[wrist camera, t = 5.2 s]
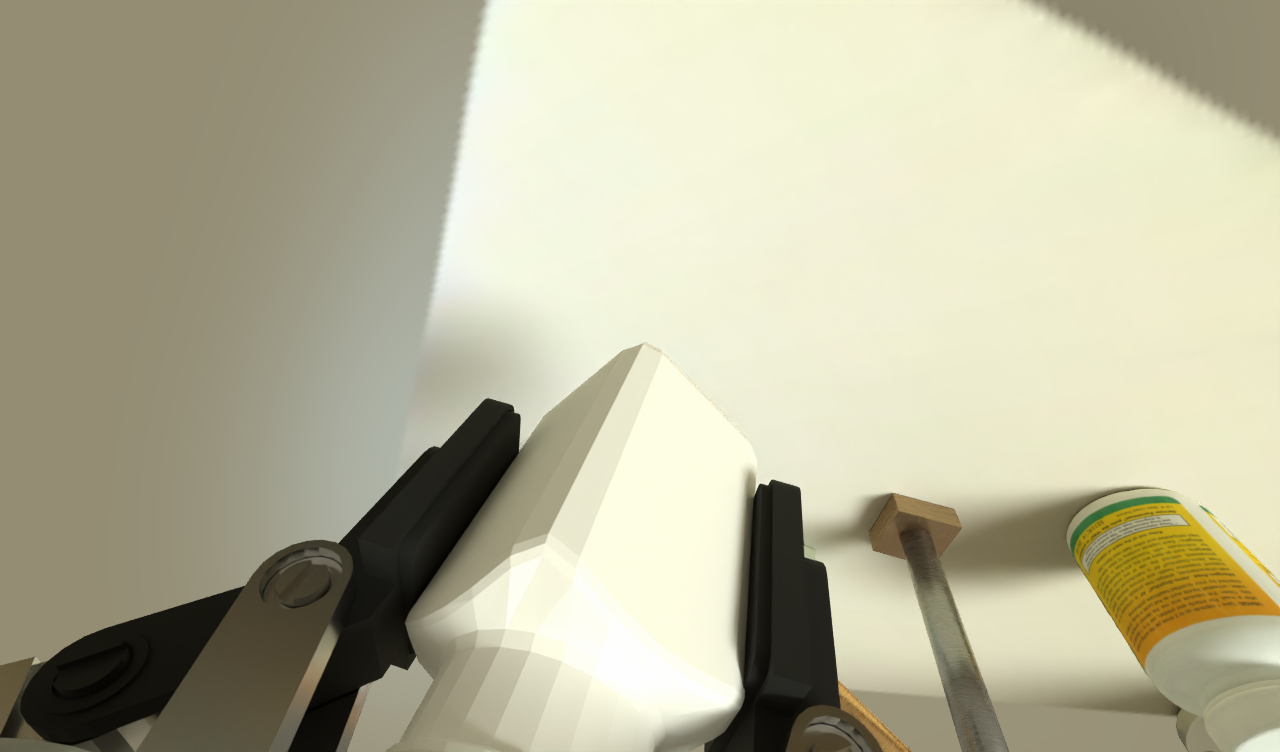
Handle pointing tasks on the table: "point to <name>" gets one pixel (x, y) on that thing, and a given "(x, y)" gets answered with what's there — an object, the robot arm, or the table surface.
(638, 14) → the table surface
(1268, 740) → the supplement bottle
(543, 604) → the salt shaker
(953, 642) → the wire hurdle
